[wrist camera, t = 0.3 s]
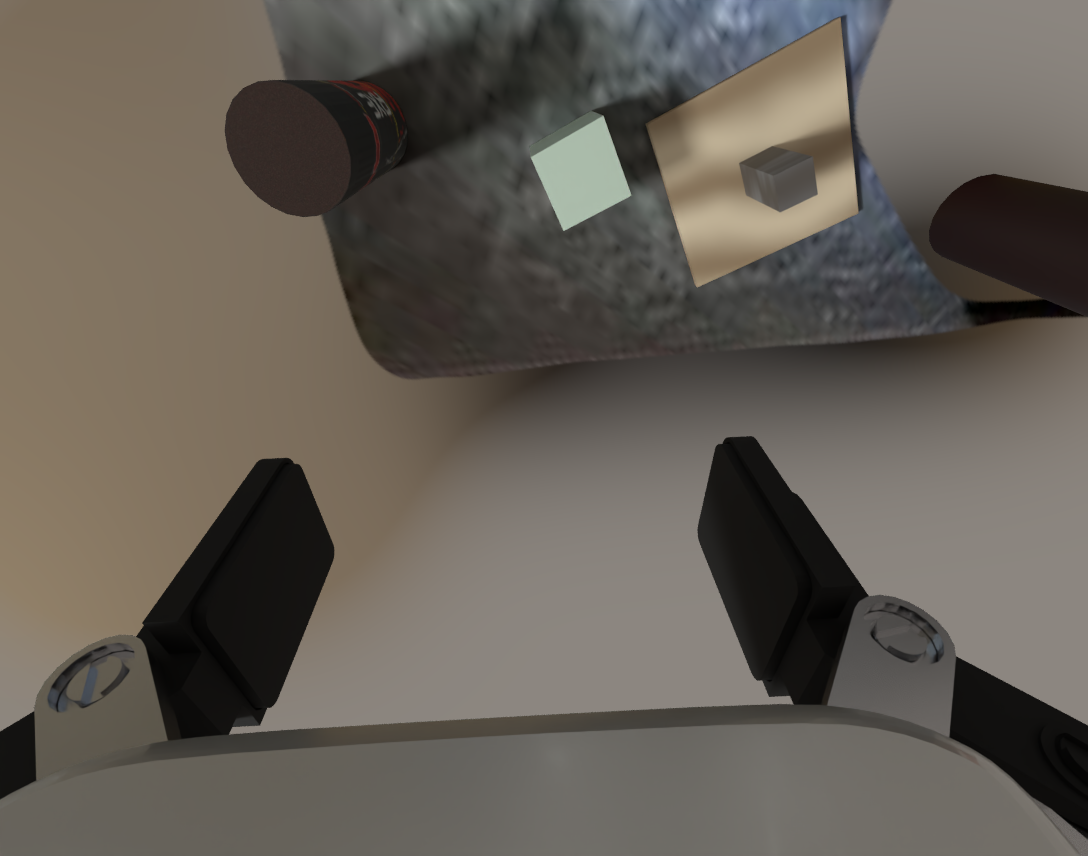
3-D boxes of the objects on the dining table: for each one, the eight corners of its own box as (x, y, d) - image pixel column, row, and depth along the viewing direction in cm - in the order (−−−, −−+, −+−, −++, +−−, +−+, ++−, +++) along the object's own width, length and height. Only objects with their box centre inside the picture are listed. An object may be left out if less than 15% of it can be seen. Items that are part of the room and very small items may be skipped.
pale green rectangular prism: (529, 146, 37) (530, 157, 32) (591, 110, 36) (603, 115, 31) (558, 211, 40) (563, 230, 35) (616, 179, 39) (631, 195, 33)
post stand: (645, 123, 37) (668, 131, 31) (835, 18, 33) (900, 5, 28) (695, 285, 44) (720, 315, 38) (854, 211, 41) (908, 232, 35)
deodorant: (420, 116, 36) (369, 134, 24) (388, 189, 39) (327, 239, 26) (343, 60, 34) (243, 48, 22) (315, 142, 36) (211, 172, 24)
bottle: (934, 272, 44) (1172, 381, 28) (919, 208, 41) (1180, 290, 25) (1016, 225, 42) (1327, 315, 26) (1007, 154, 39) (1357, 205, 23)
